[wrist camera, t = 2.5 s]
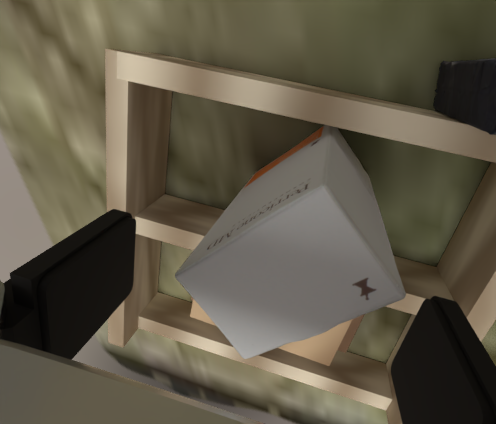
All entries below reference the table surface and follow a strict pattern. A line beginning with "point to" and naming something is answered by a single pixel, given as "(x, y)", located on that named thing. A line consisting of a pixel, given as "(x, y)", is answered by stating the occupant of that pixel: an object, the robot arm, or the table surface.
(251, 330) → the skincare box
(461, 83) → the vhs cassette tape
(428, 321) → the robot arm
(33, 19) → the table surface
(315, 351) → the upper offcut
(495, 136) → the offcut rack
